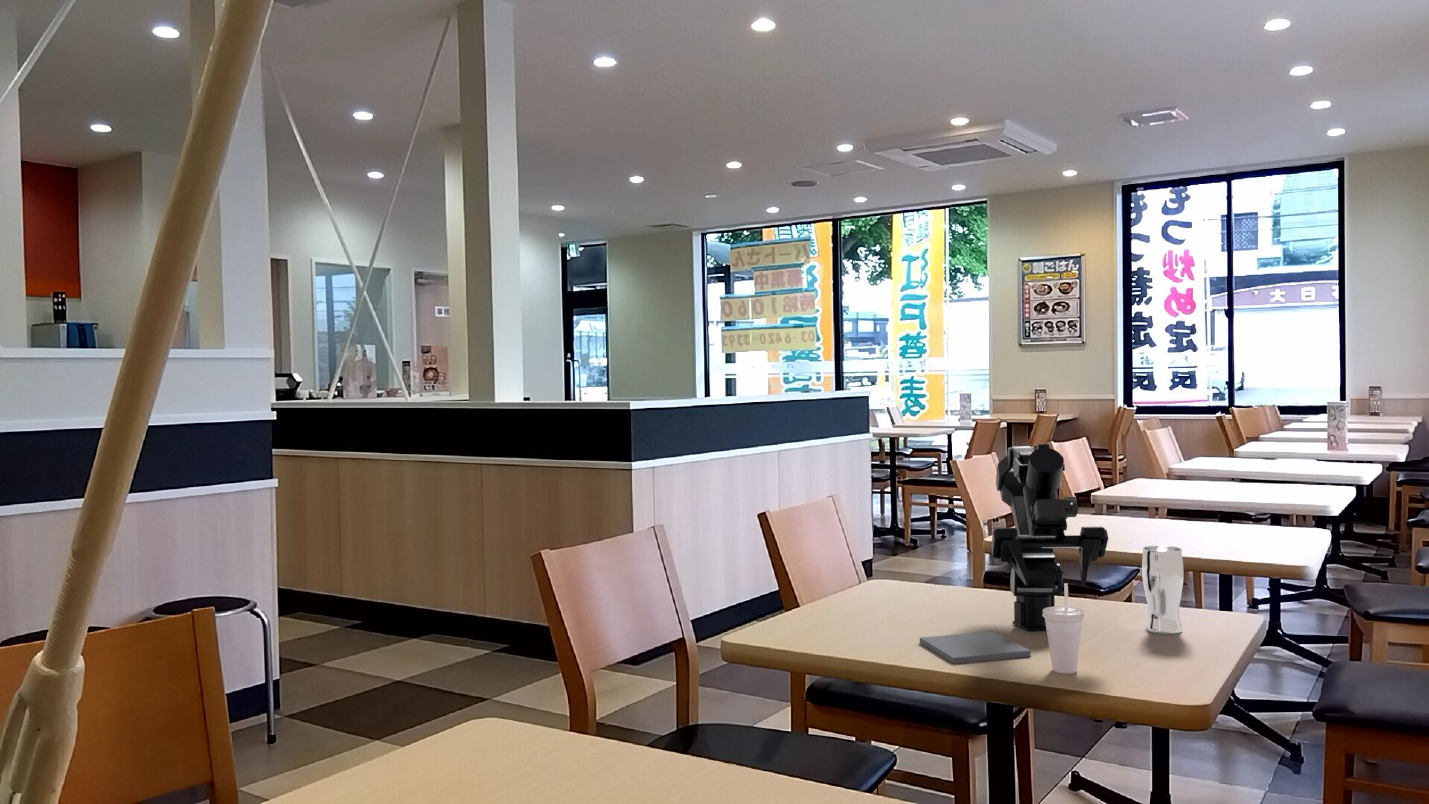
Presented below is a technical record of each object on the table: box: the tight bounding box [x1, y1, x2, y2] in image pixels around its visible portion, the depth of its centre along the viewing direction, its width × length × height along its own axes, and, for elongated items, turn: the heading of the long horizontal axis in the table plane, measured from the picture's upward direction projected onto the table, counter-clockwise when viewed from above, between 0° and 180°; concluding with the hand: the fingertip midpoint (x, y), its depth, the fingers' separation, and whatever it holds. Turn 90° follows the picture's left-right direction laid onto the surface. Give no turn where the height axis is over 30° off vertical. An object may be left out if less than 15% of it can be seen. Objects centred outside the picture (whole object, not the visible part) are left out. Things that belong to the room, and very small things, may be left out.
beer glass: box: [1141, 545, 1185, 635], centre depth 191 cm, size 7×7×15 cm
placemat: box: [919, 630, 1031, 665], centre depth 183 cm, size 14×14×1 cm
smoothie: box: [1042, 582, 1085, 675], centre depth 168 cm, size 6×6×14 cm
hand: (1055, 583), depth 174 cm, fingers open, 9 cm apart
